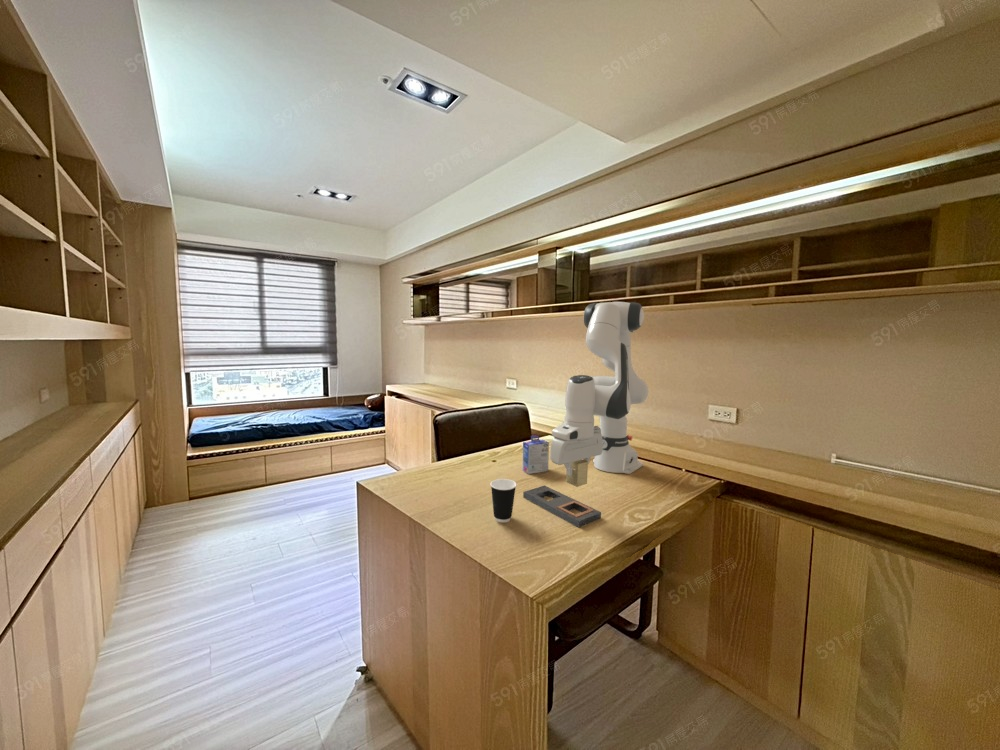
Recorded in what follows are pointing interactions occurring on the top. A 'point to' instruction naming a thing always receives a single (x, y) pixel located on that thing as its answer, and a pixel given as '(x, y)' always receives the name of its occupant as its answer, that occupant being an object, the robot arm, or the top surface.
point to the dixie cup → (503, 499)
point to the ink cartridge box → (535, 455)
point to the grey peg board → (562, 506)
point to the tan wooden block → (578, 473)
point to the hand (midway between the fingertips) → (576, 473)
